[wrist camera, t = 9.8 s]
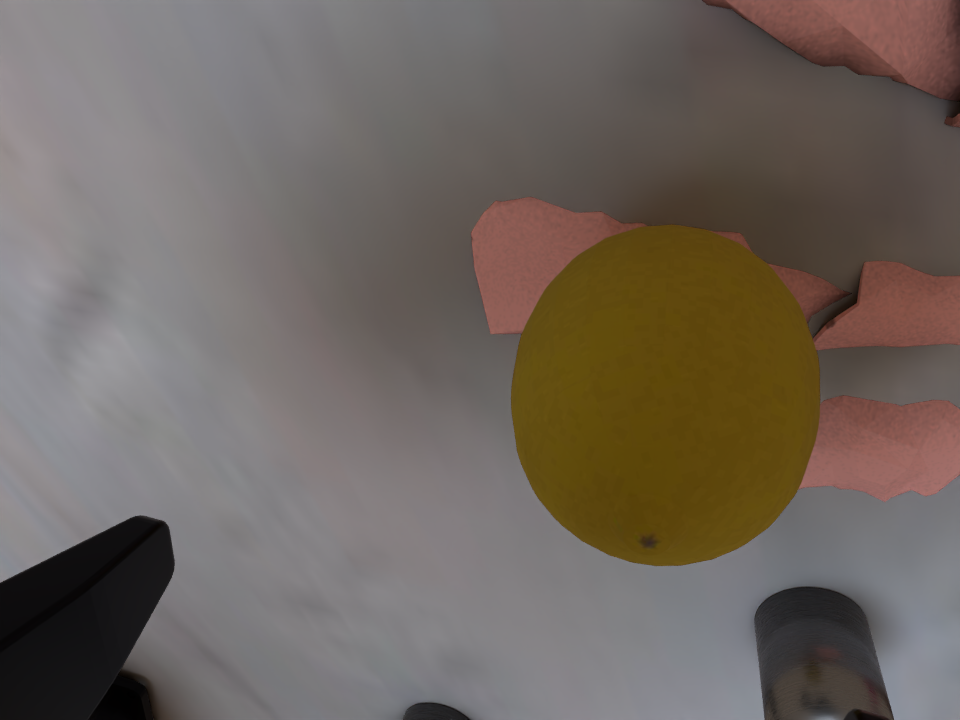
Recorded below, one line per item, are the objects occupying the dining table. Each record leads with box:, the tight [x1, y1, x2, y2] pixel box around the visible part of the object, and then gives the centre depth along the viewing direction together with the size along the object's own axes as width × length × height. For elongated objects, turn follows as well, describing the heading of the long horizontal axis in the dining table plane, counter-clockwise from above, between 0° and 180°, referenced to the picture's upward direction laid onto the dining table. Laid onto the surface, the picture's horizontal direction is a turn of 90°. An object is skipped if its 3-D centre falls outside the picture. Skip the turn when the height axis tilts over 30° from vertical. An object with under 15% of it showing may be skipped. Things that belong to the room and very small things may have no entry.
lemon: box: [511, 224, 820, 566], centre depth 14 cm, size 6×6×8 cm
